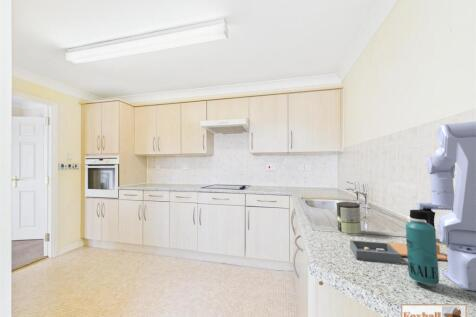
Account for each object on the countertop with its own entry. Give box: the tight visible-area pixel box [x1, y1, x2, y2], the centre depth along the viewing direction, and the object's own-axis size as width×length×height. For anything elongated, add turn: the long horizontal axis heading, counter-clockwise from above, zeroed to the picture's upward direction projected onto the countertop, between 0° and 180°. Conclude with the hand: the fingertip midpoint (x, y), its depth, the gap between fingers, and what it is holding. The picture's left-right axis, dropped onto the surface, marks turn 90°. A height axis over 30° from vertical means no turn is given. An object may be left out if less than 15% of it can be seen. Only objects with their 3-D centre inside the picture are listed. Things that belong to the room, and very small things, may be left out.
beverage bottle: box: [405, 209, 441, 286], centre depth 56 cm, size 6×7×20 cm
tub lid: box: [388, 242, 448, 261], centre depth 76 cm, size 12×14×4 cm
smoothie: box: [406, 206, 426, 223], centre depth 90 cm, size 6×6×14 cm
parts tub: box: [349, 239, 402, 265], centre depth 75 cm, size 11×13×3 cm
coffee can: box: [336, 201, 362, 237], centre depth 102 cm, size 10×10×14 cm
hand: (445, 230), depth 71 cm, fingers open, 7 cm apart
